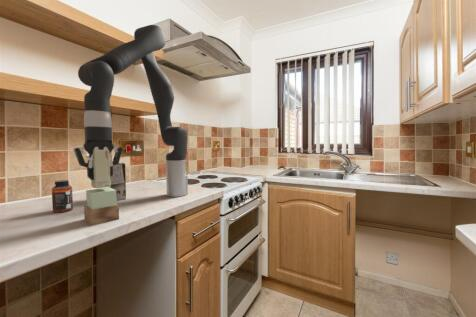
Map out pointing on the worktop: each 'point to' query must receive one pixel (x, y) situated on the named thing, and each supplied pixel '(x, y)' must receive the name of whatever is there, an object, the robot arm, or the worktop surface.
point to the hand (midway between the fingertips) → (100, 178)
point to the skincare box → (101, 169)
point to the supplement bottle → (62, 196)
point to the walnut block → (101, 214)
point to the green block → (101, 198)
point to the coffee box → (119, 181)
